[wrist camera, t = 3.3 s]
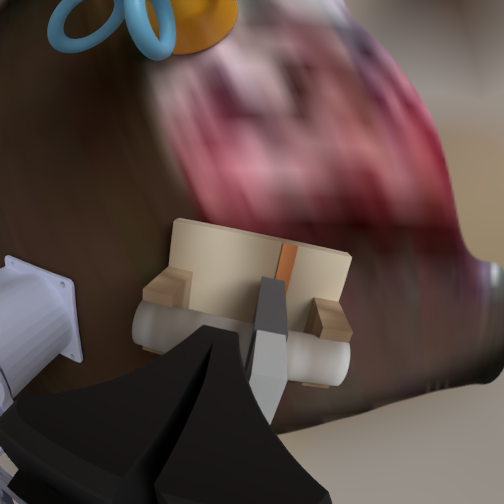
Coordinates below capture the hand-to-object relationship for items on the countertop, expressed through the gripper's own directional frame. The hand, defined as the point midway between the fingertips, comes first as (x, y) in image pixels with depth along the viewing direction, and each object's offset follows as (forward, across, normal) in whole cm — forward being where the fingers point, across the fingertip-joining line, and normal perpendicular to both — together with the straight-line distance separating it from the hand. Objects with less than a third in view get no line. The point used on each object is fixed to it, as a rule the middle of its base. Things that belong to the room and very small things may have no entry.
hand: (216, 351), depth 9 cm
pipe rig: (+8, -1, +2) cm, 8 cm away
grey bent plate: (+6, -2, +2) cm, 6 cm away
